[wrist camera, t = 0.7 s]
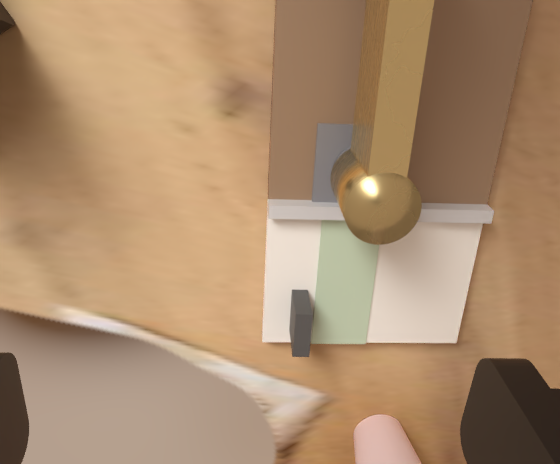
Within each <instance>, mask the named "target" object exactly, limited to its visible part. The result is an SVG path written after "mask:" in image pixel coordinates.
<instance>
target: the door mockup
mask: <svg viewBox="0 0 560 464" xmlns="http://www.w3.org/2000/svg"><path fill="white" fill-rule="evenodd" d="M532 2H533V0H434V6H433V12H432V19H431V26H430V32H429V39H428V45H427V52H426V58H425V65H424V71H423V78H422V84H421V91H420V97H419V104H418V110H417V117H416V123H415V130H414V136H413V143H412V149H411V156H410V162H409V169H408V175H407V176H408V178H409V179H410V180H411V181H412V182H413V184H414V185H415V186H416V188H417V189H418V191H419V193H420V196H421V203H422V207H421V213H420V217H419V219H418V221H417V223H416V225H415V226H414V228H413V229H412V230H411V231H410V232H409V233H408V234H407V235H406V236H404V237H403V238H401V239H399V240H398V241H395V242H392V243H389V244H383V245H375V244H369V243H366V242H364V241H362V240H360V239H358V238H357V237H356V236H355V235H353V234H352V232H351V231H350V230H349V228H348V226H347V224H346V221H345V219H344V217H343V214H342V212H341V209H340V207H339V205H338V202H337V200H336V197H335V195H334V193H333V190H332V188H331V182H330V176H331V171H332V168H333V166H334V164H335V162H336V160H337V159H338V158H339V157H340V156H341V155H342V154H343V153H344V152H346V151H347V150H349V149H351V141H352V131H353V122H354V112H355V103H356V93H357V84H358V74H359V65H360V55H361V46H362V36H363V27H364V17H365V8H366V0H276V5H275V29H274V54H273V78H272V103H271V127H270V152H269V176H268V201H267V225H266V250H265V274H264V299H263V323H262V342H291V348H292V356H293V357H309V353H310V342H311V344H366V343H456V342H457V338H458V333H459V329H460V324H461V320H462V315H463V311H464V306H465V302H466V297H467V293H468V288H469V284H470V280H471V275H472V271H473V266H474V262H475V257H476V253H477V248H478V244H479V239H480V235H481V230H482V226H483V223H489V224H491V223H492V219H493V214H494V210H493V209H492V208H491V207H490V206H488V205H487V203H488V199H489V194H490V190H491V185H492V181H493V177H494V172H495V168H496V163H497V159H498V154H499V150H500V145H501V141H502V136H503V132H504V127H505V123H506V118H507V114H508V109H509V105H510V100H511V96H512V91H513V87H514V82H515V78H516V74H517V69H518V65H519V60H520V56H521V51H522V47H523V42H524V38H525V33H526V29H527V24H528V20H529V15H530V11H531V6H532Z"/></svg>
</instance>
